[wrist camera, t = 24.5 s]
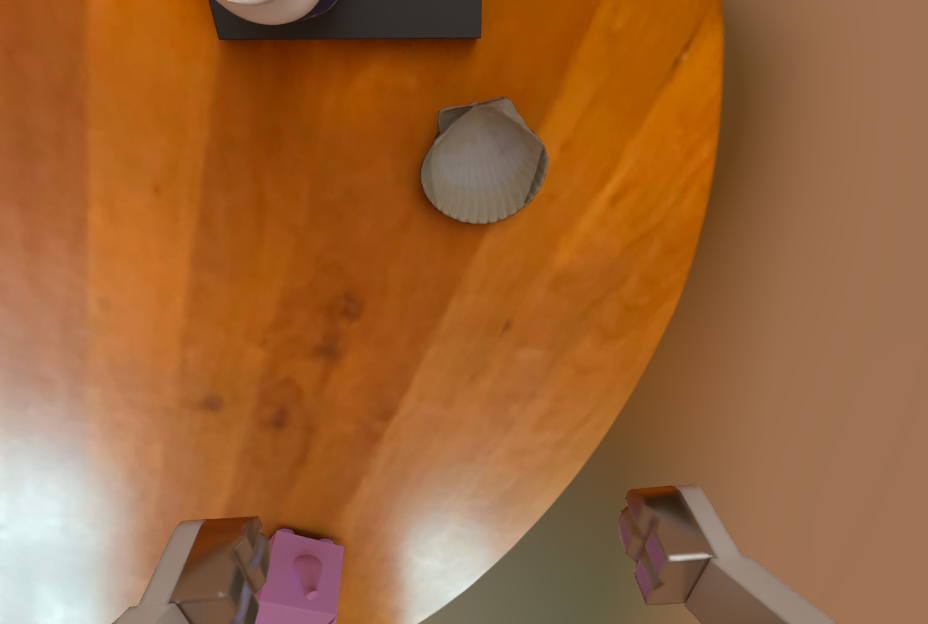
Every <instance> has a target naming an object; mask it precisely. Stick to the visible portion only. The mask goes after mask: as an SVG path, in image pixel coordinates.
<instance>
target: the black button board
mask: <svg viewBox="0 0 928 624" xmlns="http://www.w3.org/2000/svg"><path fill="white" fill-rule="evenodd" d="M209 3H210V7H211V11H212V15H213V19H214V23H215V27H216V30H217V34H218V38H219V40H292V39H463V38H481V5H482V0H337V1H336V2H335V4H334V5H333V6H332V7H331V8H330V9H328V10H327V11H326V12H324V13H323V14H321V15H319V16H317V17H314V18H310V19H306V20H301V21H296V22H291V23H287V24H280V25H267V24H259V23H255V22H252V21H248V20H246V19H244V18H241V17H239V16H237V15H235V14H234V13H232V12H231V11H229V10H228V9H226V8H225V7H224V6H222V5H221V4H220V3H218V2H217V1H216V0H209Z"/></svg>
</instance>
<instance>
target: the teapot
mask: <svg viewBox="0 0 928 624" xmlns="http://www.w3.org/2000/svg"><path fill="white" fill-rule="evenodd" d="M269 543H270V549H271V558H270V569H269V573H268V577H267V581H266V583H265V584H264V585H263V587H262V588H261V589H260V590H259V591H258V592H257V593H256V594H255V595H256V597H257V600H258V602H259V604H260V607H259V611H258V614H257V618H256V622H255V624H335V623H336V620H337V616H338V612H337V606H338V598H339V590H340V581H341V573H342V565H343V556H344V548H345V547H343V546H339V545H334V543H333V541H332V540H330V539H320V540H314V539H310V538H306V537H302V536H298V535H294V532H293V531H292V530H290V529H280V530H277V531H276V532H275V534H274V535H273V536H272V538H271V539H270V540H269Z"/></svg>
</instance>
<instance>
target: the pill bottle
mask: <svg viewBox="0 0 928 624" xmlns="http://www.w3.org/2000/svg"><path fill="white" fill-rule="evenodd" d="M216 1H217V2H218V3H220V4H221V5H222V6H224V7H225V8H226V9H228V10H229V11H231V12H232V13H234V14H235V15H237V16H239V17H241V18H244V19H246V20H248V21H252V22H255V23H259V24H267V25H280V24H287V23H291V22H296V21H301V20H306V19H310V18H314V17H317V16H319V15H321V14H323V13H324V12H326V11H327V10H328V9H330V8H331V7H332V6H333V5H334V4H335V2H336V1H337V0H216Z"/></svg>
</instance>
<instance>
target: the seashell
mask: <svg viewBox="0 0 928 624" xmlns="http://www.w3.org/2000/svg"><path fill="white" fill-rule="evenodd" d="M437 125H438V129H439V133H438V134H437V135H436V137H435V142H434V143H433V144H432V146H431V148H430V150H429V151H428V153H427V154H426V155H425V157H424V159H423V162H422V164H421V170H420V175H421V180H420V181H421V185H422V187H423V190H424V193H425V195H426V197H427V199H428V200H429V201H430V203H431V204H432V205H433V206H434V207H435V209H437V210H439V211H441V212H442V213H443V214H445V215H446V216H448V217H450V218H452V219H455V220H457V221H460V222H464V223H469V224H476V223H479V224H486V223H495V222H496V221H499V220H504V219H505V218H507V217H509V216H512V215H514V214H515V213H516V212H517V211H519V210H521V209H522V208H524V207H525V206H526V205H527V204H528V203H529V202H530V201H532V199H533V197H534V196H535V195H536V194H537V192H538V191H539V189H540V187H541V186H542V184H543V181H544V179H545V176H546V173H547V169H548V161H549V158H548V155H547V152H546V149H545V146H544V144H543V142H542V141H541V140H540V139H539V138H538V137H537V135H536V134H535V133H534V132H533V131H532V130H531V129H529V128H528V127H527V126H526V125H525V122H524V120H523V119H522V117H521V116H520V115H519V114H518V113H517V111H516V109H515V107H514V105H513V104H512V102H511V101H509V100H508V98H506V97H498V98H494V99H492V100H489V101H486V102H482V103H480V102H474V103H472V104H470V105H468V106H457V107H449V108H444V109H442V110H440V111H439V113H438V124H437Z"/></svg>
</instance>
